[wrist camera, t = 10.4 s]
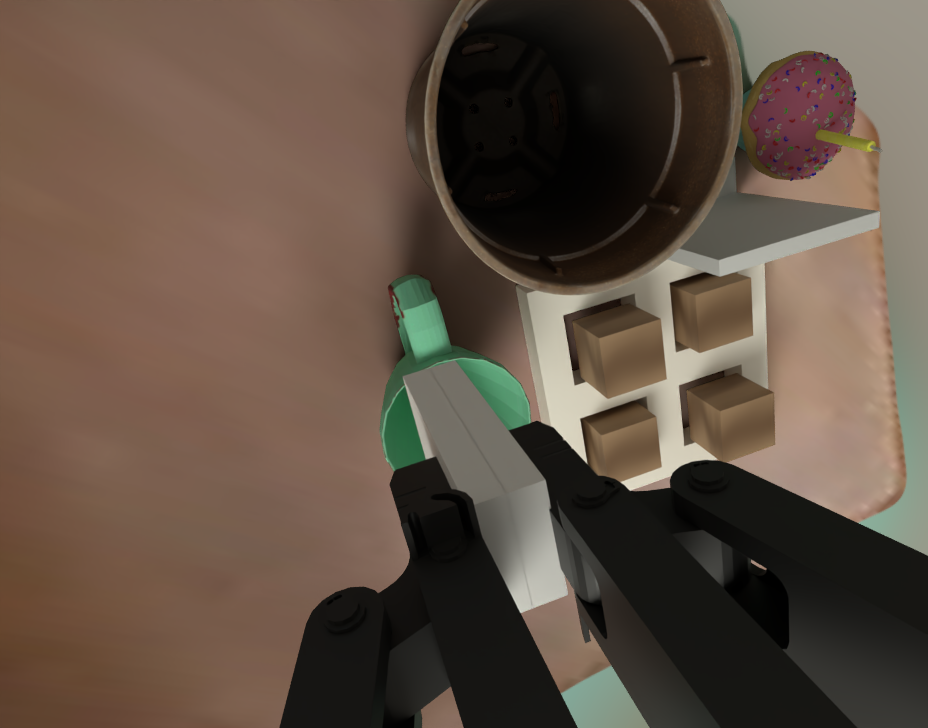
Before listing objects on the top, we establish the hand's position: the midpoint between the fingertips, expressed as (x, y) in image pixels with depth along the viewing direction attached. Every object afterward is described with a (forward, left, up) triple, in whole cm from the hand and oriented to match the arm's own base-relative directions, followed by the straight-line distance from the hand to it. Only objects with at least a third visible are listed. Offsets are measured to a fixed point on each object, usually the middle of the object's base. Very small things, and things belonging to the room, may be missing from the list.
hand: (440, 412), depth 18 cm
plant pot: (-5, +12, -30) cm, 32 cm away
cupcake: (-1, +33, -30) cm, 44 cm away
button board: (+16, +22, -29) cm, 40 cm away
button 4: (+12, +26, -29) cm, 41 cm away
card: (+3, +25, -29) cm, 39 cm away
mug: (+9, +3, -30) cm, 31 cm away
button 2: (+12, +17, -27) cm, 34 cm away
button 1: (+21, +17, -29) cm, 40 cm away
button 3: (+21, +26, -27) cm, 43 cm away
